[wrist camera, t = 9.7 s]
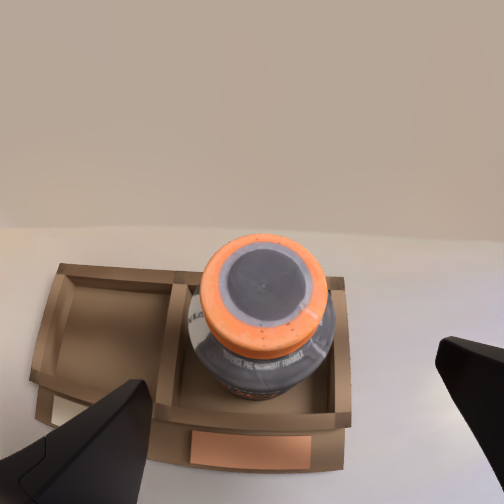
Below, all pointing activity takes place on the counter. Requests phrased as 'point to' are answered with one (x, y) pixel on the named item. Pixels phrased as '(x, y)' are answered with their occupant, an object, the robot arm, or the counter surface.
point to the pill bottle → (262, 316)
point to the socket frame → (183, 375)
